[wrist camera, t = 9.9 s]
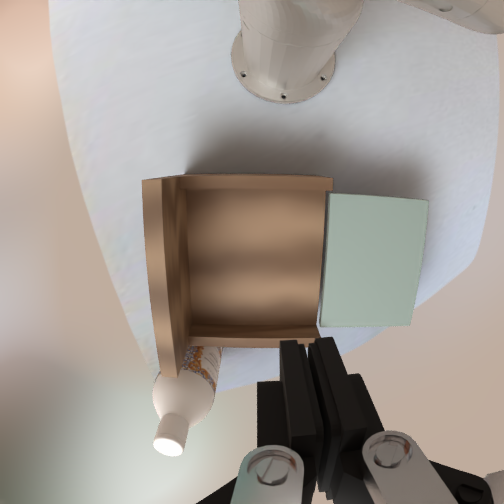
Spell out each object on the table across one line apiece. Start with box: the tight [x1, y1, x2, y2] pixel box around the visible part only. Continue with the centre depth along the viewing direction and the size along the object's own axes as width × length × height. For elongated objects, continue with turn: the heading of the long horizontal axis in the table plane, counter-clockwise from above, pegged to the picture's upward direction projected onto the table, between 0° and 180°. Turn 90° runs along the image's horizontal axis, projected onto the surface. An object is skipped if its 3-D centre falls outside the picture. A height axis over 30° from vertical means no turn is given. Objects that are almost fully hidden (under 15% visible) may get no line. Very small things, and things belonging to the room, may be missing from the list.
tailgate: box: [319, 193, 429, 327], centre depth 33 cm, size 15×2×11 cm
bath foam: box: [153, 346, 223, 456], centre depth 34 cm, size 7×7×20 cm
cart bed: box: [142, 174, 333, 378], centre depth 33 cm, size 18×16×15 cm
